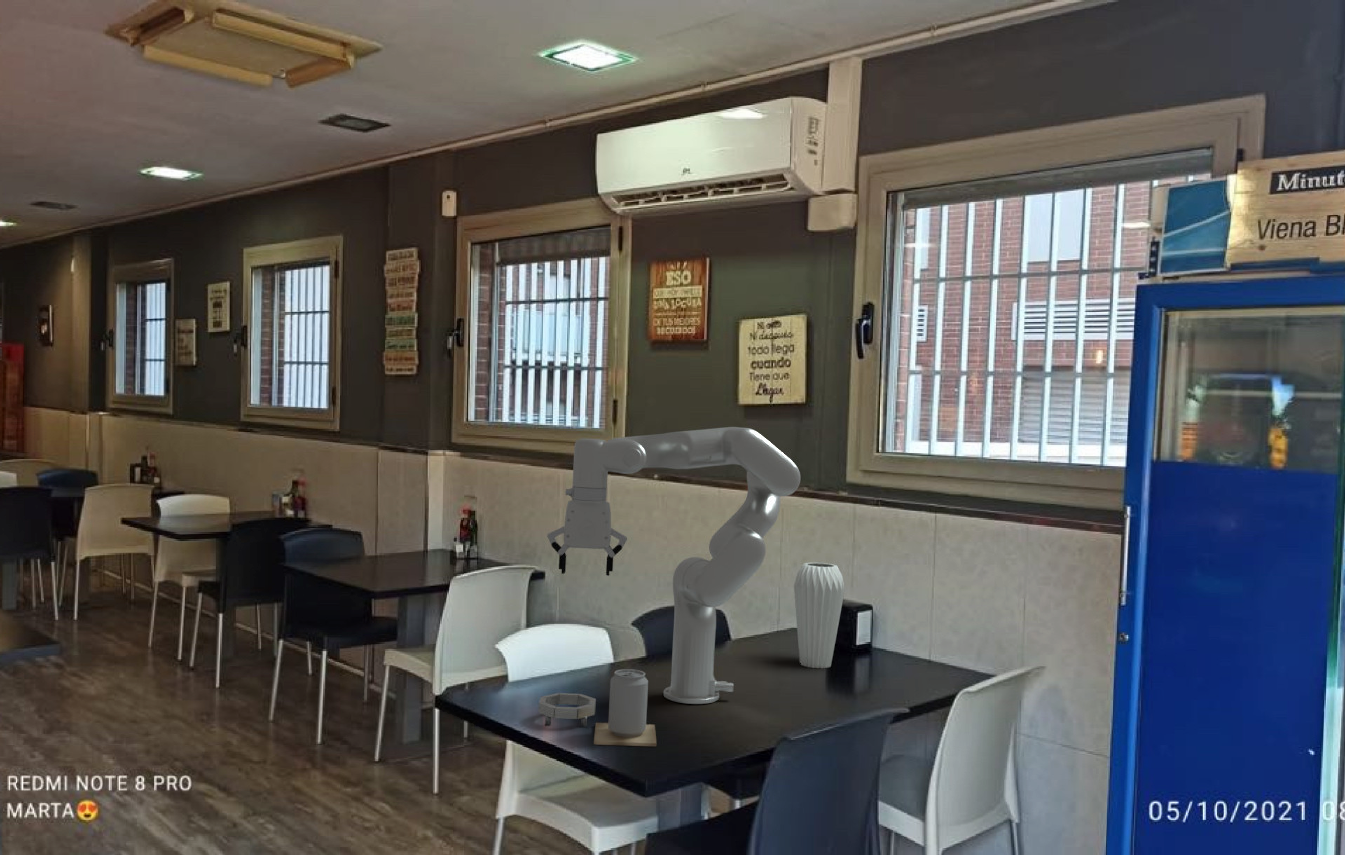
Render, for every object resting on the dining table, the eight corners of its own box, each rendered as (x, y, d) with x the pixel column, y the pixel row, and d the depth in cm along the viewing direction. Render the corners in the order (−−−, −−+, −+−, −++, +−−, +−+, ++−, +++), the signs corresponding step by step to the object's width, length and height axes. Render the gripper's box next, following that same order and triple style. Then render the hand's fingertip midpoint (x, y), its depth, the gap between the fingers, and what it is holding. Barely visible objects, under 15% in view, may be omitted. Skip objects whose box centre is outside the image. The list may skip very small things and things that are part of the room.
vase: (805, 656, 285) (810, 559, 284) (849, 665, 277) (854, 565, 277) (780, 664, 274) (785, 564, 274) (826, 673, 266) (831, 570, 266)
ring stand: (595, 713, 222) (596, 694, 222) (593, 729, 210) (594, 709, 210) (541, 711, 221) (542, 692, 221) (536, 727, 210) (537, 707, 210)
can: (603, 735, 205) (606, 674, 204) (613, 725, 212) (615, 665, 212) (641, 739, 203) (644, 678, 203) (649, 728, 211) (652, 669, 210)
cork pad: (654, 727, 213) (654, 724, 213) (656, 746, 201) (656, 743, 201) (595, 725, 213) (595, 722, 213) (593, 744, 201) (593, 741, 201)
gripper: (548, 495, 224) (544, 574, 224) (629, 498, 225) (625, 578, 225) (550, 492, 231) (546, 569, 232) (628, 495, 232) (625, 572, 232)
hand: (585, 573), depth 228 cm, fingers open, 9 cm apart
